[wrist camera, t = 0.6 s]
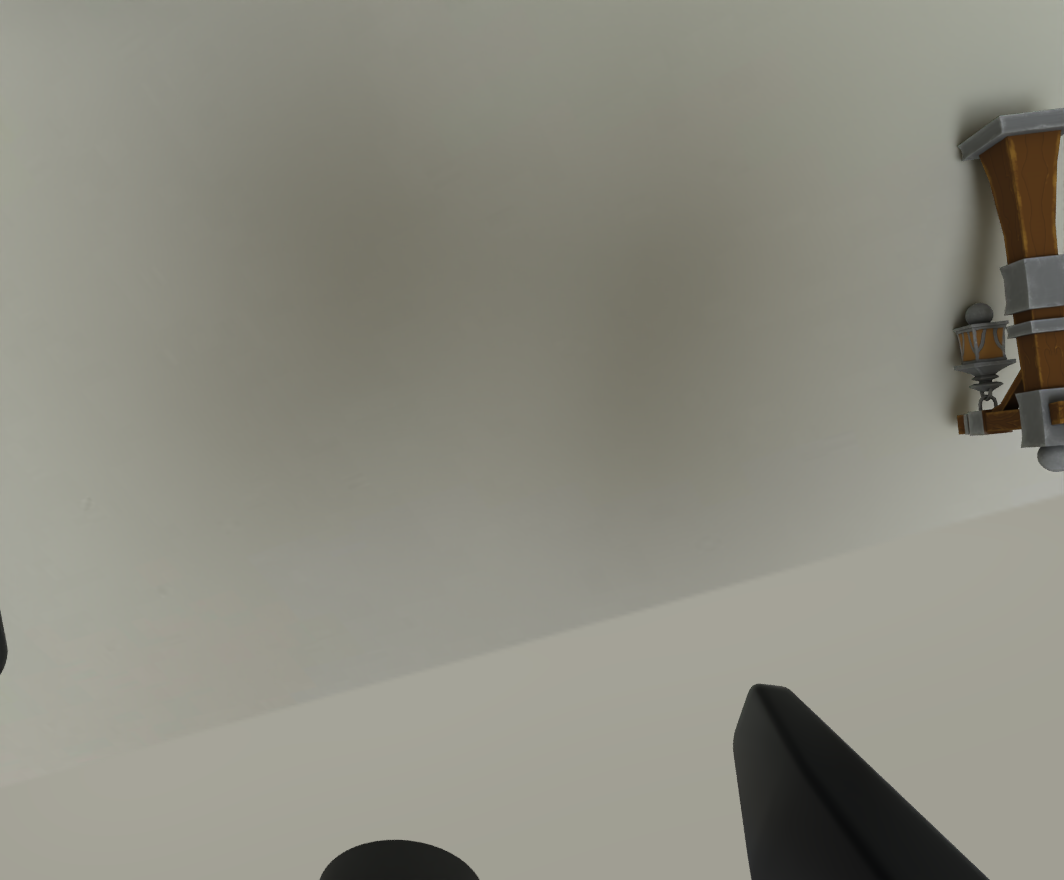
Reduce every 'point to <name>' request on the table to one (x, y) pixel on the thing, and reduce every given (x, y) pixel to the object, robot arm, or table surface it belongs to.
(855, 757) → the robot arm
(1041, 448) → the wooden post with brackets
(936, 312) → the table surface
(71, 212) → the table surface
